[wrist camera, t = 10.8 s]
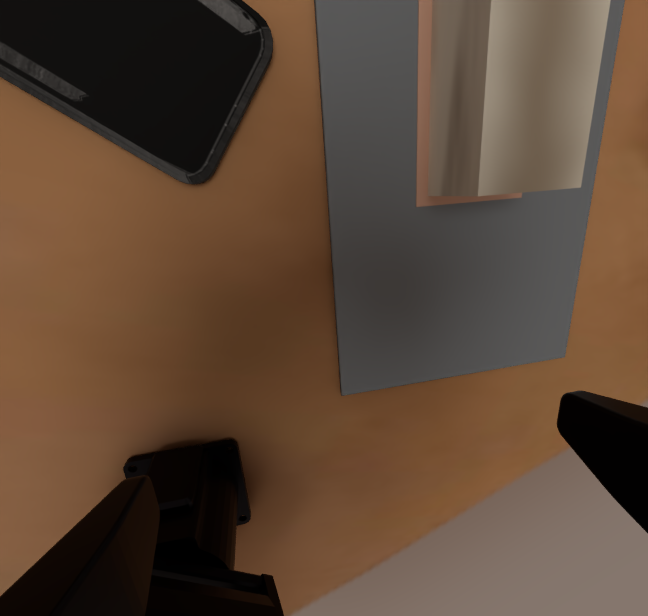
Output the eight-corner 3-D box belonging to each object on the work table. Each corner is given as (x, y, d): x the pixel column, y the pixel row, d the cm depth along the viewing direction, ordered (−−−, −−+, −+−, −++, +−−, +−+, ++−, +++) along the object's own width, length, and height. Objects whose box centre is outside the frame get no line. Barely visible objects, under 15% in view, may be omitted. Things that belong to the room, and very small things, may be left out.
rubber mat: (561, 355, 24) (565, 357, 24) (340, 393, 22) (342, 396, 22) (634, -94, 17) (642, -100, 16) (306, -113, 14) (308, -120, 14)
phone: (-160, -321, 10) (282, 32, 15) (-121, -273, 11) (281, 43, 16) (-225, -51, 12) (199, 196, 16) (-185, -30, 13) (203, 196, 17)
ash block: (534, -63, 16) (635, -155, 12) (510, 189, 19) (581, 187, 15) (433, -68, 15) (502, -168, 11) (427, 196, 19) (477, 196, 14)
